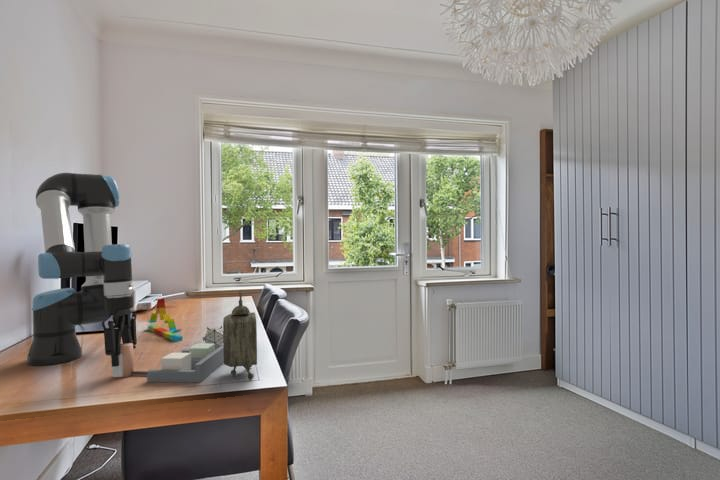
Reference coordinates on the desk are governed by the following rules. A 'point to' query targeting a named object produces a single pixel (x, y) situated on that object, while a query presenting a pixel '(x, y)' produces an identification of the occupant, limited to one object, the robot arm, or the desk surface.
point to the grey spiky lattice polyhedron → (214, 336)
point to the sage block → (201, 350)
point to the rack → (196, 374)
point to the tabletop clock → (240, 338)
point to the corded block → (167, 363)
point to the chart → (166, 317)
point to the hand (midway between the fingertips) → (123, 373)
